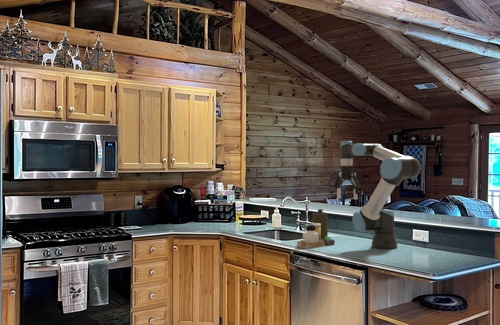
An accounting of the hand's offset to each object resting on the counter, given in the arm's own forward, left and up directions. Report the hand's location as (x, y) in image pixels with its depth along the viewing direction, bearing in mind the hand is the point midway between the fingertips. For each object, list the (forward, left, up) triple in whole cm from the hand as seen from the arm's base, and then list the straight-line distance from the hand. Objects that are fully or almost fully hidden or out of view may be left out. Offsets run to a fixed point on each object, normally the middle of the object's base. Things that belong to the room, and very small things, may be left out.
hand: (347, 198), depth 309 cm
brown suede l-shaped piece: (+12, +18, -29) cm, 36 cm away
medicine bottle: (+10, +23, -28) cm, 37 cm away
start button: (+7, +11, -28) cm, 31 cm away
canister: (+28, -4, -29) cm, 40 cm away
